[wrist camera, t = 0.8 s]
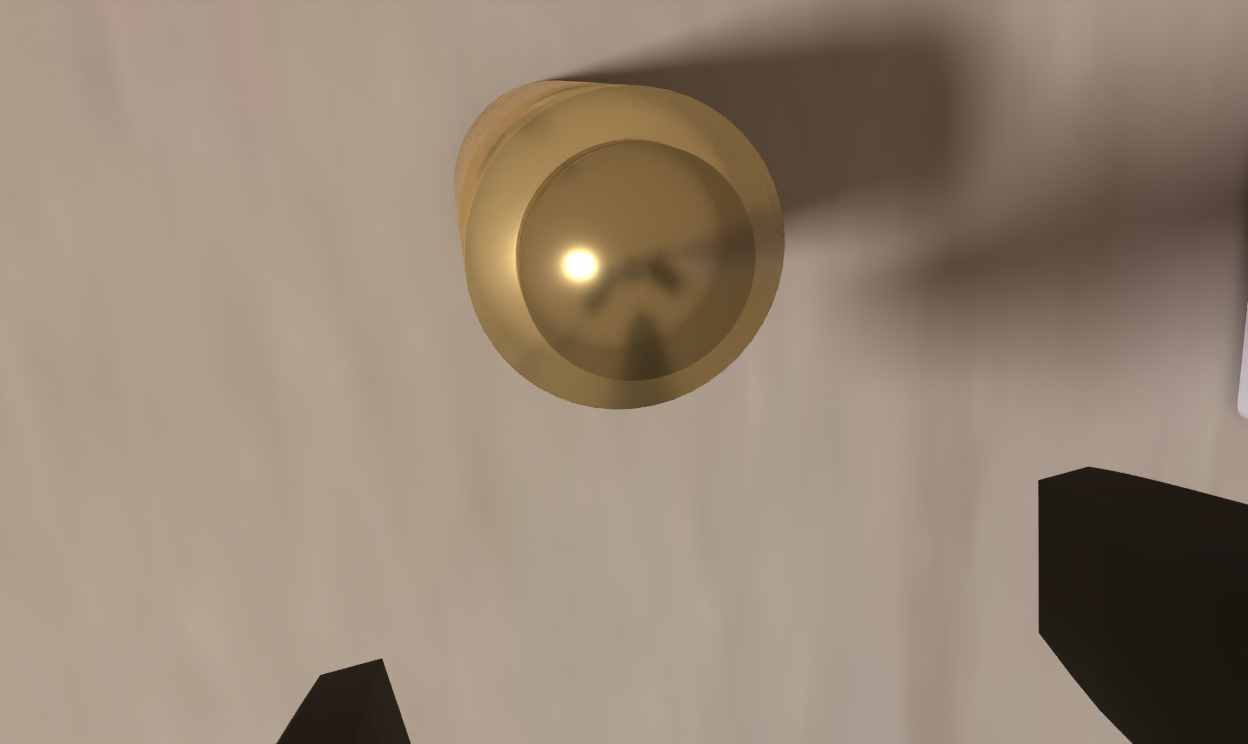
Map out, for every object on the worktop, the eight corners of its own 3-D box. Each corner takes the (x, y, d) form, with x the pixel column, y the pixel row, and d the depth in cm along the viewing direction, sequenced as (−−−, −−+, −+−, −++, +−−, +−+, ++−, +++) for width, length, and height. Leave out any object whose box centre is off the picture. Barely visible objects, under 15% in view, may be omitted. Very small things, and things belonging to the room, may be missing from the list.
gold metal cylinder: (640, 64, 17) (787, 57, 10) (669, 264, 18) (815, 386, 11) (432, 100, 16) (428, 120, 9) (479, 304, 18) (506, 459, 10)
